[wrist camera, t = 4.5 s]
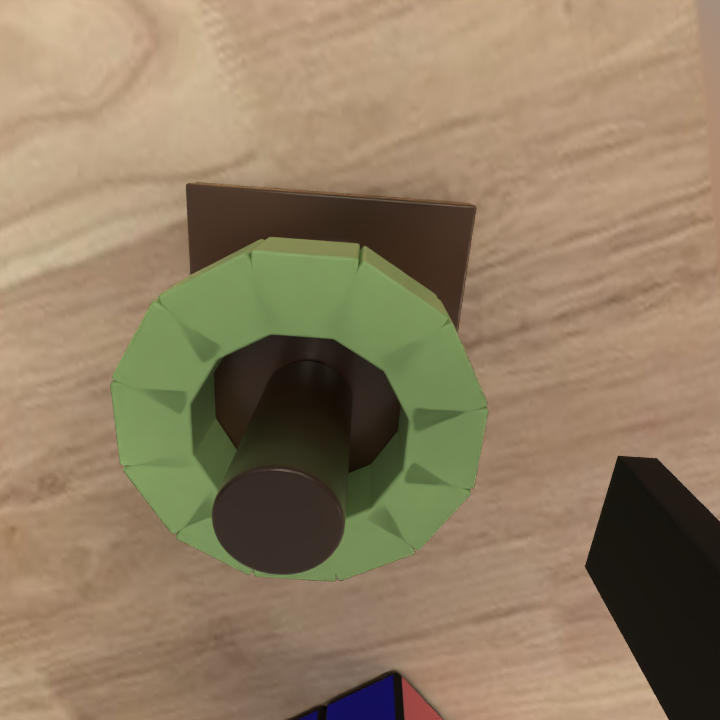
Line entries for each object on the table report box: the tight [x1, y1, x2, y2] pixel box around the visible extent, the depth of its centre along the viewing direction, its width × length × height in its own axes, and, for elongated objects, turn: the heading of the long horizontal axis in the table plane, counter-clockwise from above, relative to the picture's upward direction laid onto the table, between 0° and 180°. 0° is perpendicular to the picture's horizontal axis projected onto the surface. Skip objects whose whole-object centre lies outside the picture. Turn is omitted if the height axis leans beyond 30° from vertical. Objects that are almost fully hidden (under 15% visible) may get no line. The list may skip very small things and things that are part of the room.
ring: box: [111, 237, 488, 582], centre depth 13 cm, size 9×9×2 cm
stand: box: [186, 182, 476, 575], centre depth 15 cm, size 10×10×12 cm
